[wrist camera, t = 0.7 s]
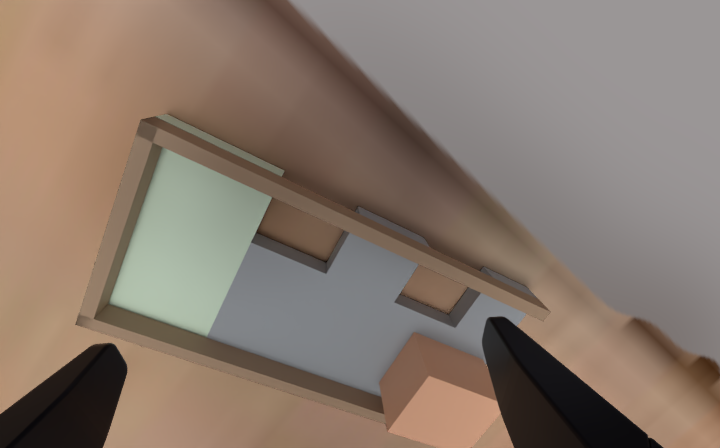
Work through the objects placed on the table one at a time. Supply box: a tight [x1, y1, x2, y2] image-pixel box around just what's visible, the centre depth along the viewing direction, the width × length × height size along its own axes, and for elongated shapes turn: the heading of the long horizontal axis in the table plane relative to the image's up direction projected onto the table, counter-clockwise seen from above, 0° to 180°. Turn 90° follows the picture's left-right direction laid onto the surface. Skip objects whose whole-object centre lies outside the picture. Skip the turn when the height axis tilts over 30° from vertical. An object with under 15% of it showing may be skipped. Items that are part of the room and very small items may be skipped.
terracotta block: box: [379, 332, 501, 448], centre depth 25 cm, size 5×6×4 cm
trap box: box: [76, 114, 550, 424], centre depth 24 cm, size 13×26×3 cm, turn 62°
